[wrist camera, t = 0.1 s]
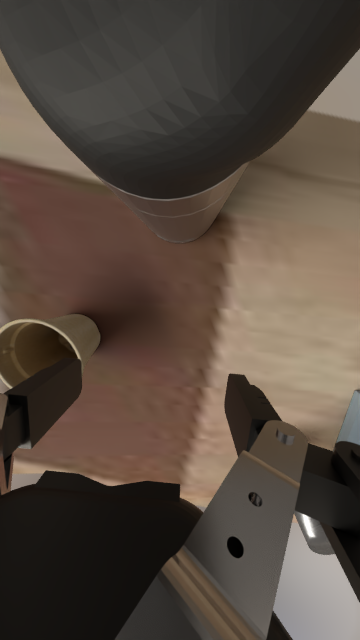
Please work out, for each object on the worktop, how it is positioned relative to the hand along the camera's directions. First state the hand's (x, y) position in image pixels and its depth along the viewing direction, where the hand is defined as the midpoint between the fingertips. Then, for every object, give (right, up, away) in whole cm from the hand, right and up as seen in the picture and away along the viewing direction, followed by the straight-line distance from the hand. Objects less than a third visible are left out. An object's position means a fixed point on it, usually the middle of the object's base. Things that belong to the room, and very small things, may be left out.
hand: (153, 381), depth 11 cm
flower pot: (-13, +1, +18) cm, 22 cm away
